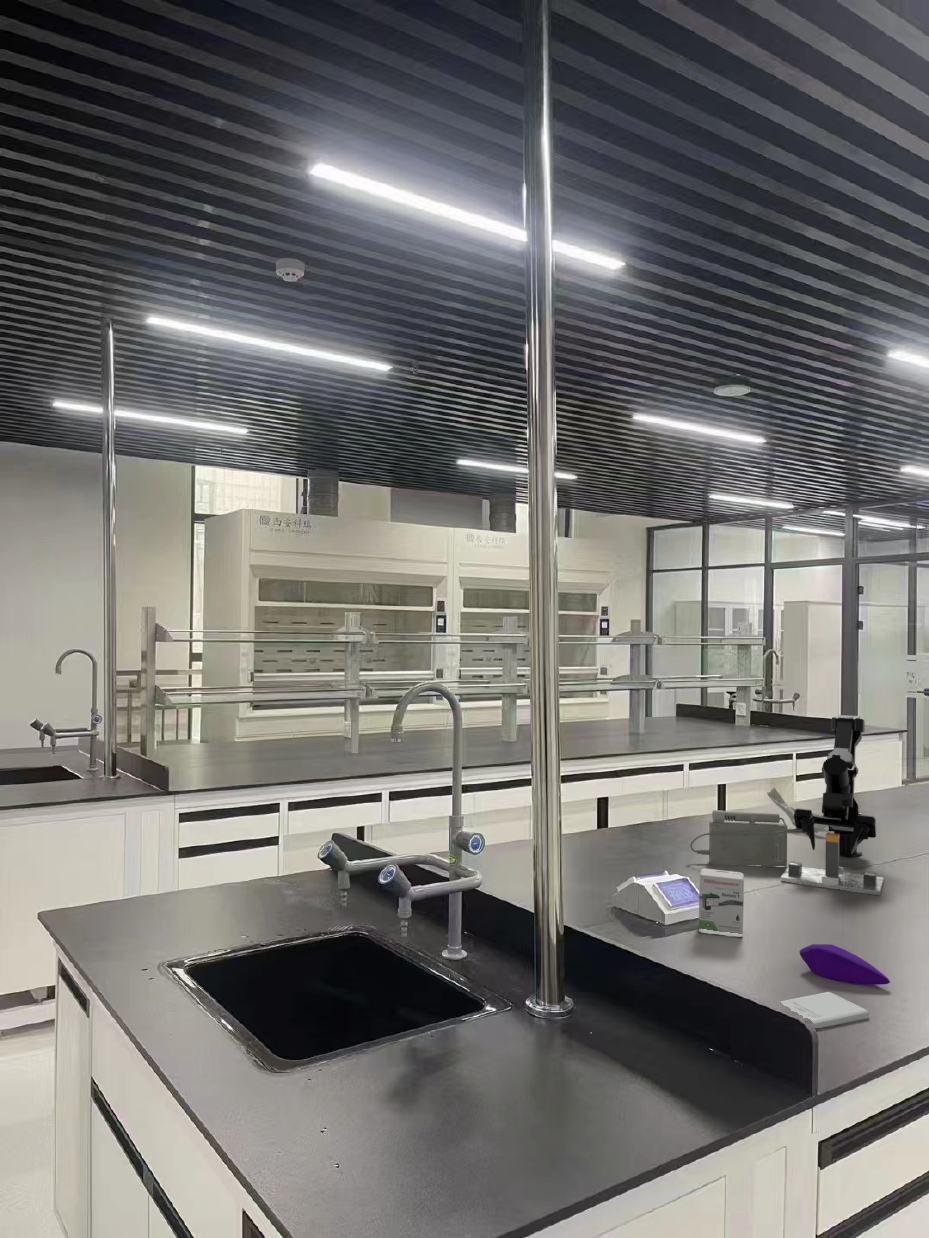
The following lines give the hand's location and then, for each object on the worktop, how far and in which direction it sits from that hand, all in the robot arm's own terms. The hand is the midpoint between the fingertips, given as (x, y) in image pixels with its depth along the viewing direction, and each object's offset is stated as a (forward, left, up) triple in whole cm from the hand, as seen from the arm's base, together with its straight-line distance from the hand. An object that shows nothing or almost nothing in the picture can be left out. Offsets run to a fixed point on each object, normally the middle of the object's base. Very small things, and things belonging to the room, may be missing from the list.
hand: (831, 851), depth 210 cm
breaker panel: (-1, -1, -8) cm, 8 cm away
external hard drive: (+73, +41, -8) cm, 84 cm away
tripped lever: (-1, -1, -6) cm, 6 cm away
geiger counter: (+5, -24, -8) cm, 25 cm away
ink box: (+54, +8, -8) cm, 55 cm away
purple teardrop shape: (+56, +36, -8) cm, 66 cm away
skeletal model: (-51, -39, -8) cm, 65 cm away
